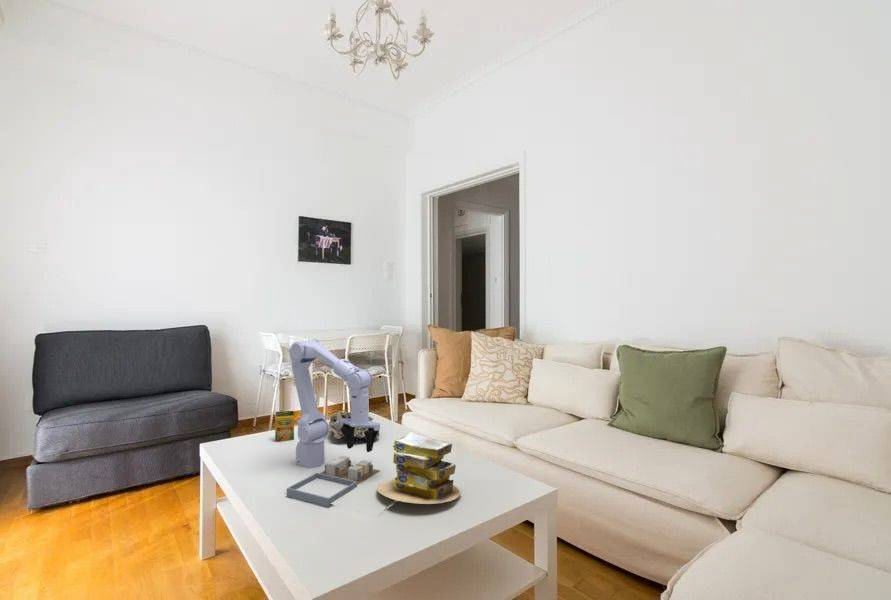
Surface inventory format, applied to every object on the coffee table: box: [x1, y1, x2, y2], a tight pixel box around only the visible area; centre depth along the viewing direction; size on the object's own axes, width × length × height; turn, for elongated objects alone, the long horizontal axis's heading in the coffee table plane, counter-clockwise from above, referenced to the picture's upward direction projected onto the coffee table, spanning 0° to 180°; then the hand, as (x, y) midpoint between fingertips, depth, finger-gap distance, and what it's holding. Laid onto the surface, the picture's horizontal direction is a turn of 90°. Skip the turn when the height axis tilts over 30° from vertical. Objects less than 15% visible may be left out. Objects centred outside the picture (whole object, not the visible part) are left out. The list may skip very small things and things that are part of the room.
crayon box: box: [274, 410, 295, 442], centre depth 186 cm, size 7×3×12 cm, turn 111°
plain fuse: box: [325, 455, 351, 475], centre depth 151 cm, size 3×8×3 cm, turn 154°
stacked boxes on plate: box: [376, 431, 461, 505], centre depth 134 cm, size 25×25×17 cm
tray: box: [286, 472, 358, 509], centre depth 136 cm, size 16×13×2 cm
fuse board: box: [320, 459, 381, 485], centre depth 149 cm, size 17×12×4 cm
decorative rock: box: [328, 411, 380, 441], centre depth 191 cm, size 22×26×10 cm
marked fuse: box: [348, 459, 372, 480], centre depth 147 cm, size 3×8×3 cm, turn 154°
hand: (359, 449), depth 147 cm, fingers open, 7 cm apart
